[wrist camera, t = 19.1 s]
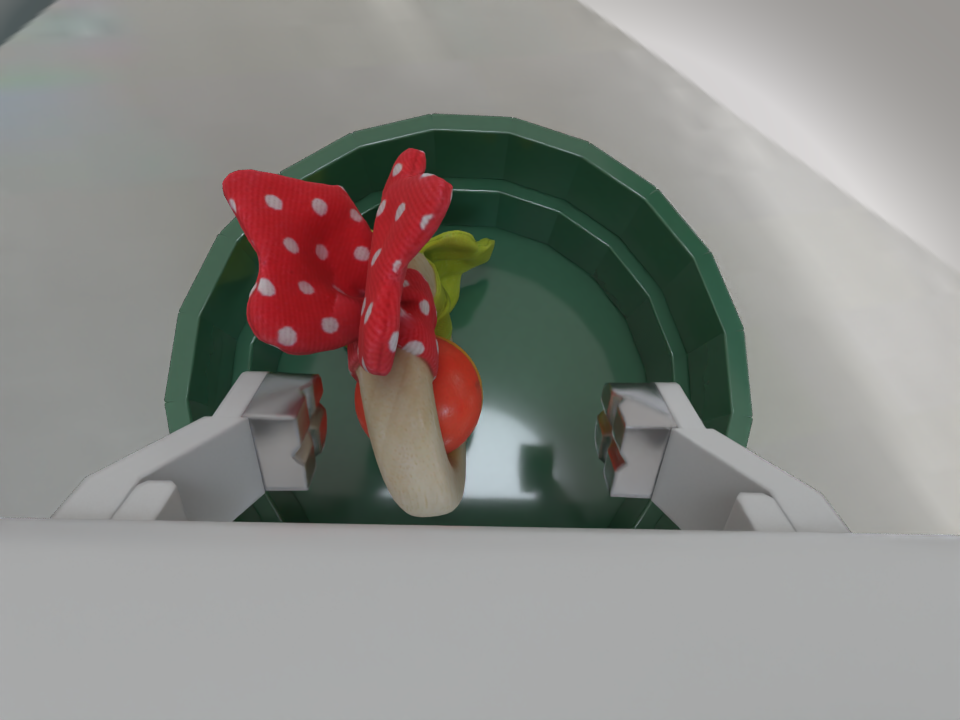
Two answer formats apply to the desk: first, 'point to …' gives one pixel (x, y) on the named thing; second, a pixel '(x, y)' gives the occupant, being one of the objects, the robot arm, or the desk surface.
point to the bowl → (498, 325)
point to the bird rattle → (374, 312)
